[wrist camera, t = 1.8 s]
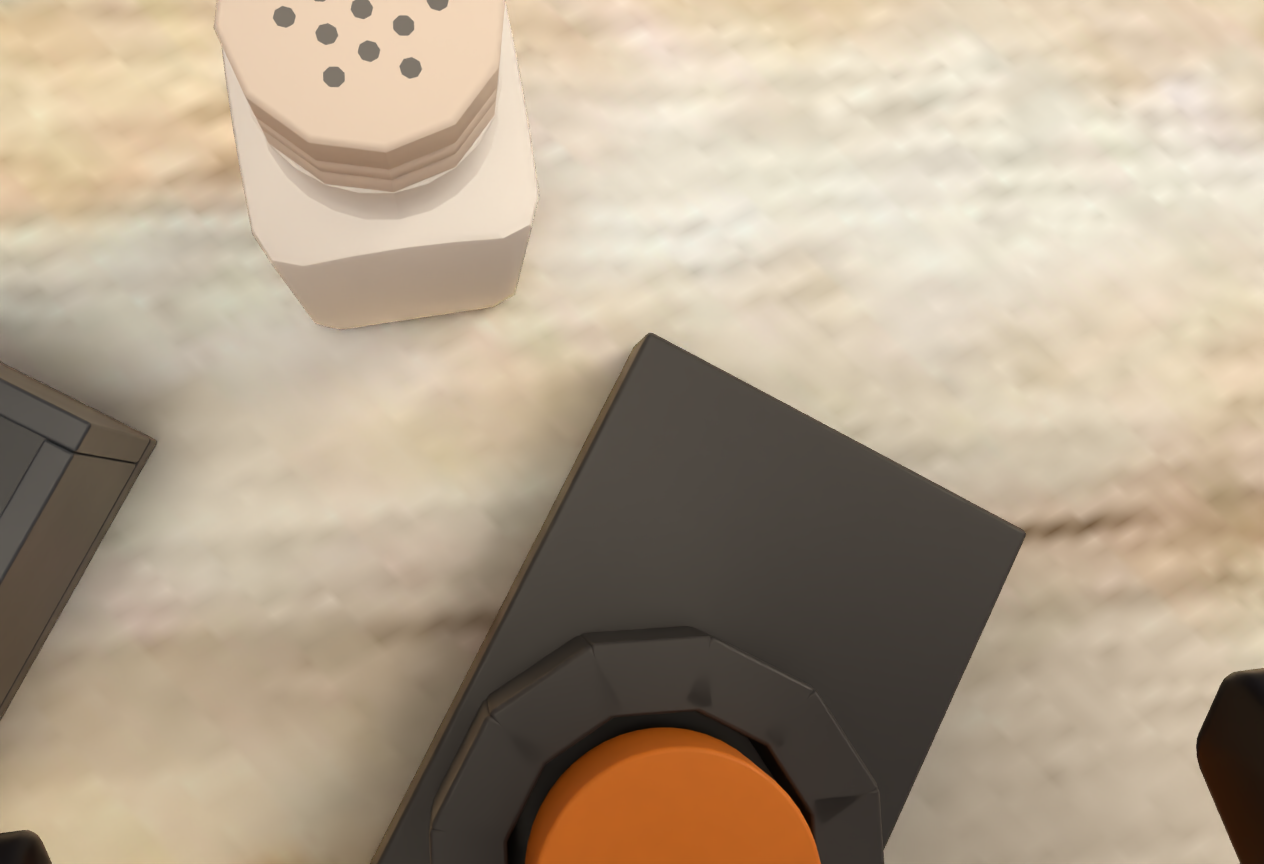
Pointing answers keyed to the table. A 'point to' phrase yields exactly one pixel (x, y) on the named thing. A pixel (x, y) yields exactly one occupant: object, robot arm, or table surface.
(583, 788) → the button
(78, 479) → the dark grey open box
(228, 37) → the pepper shaker
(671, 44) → the table surface
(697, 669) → the button base
